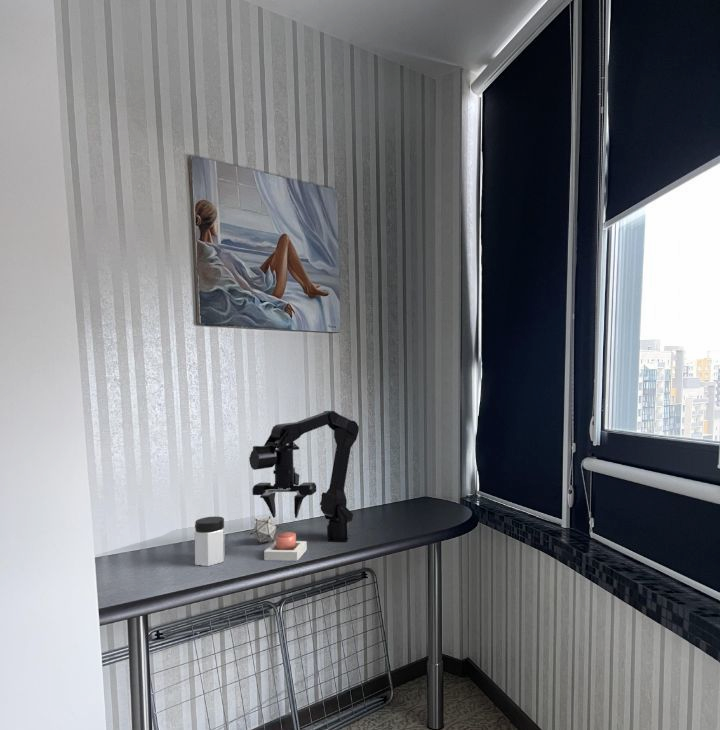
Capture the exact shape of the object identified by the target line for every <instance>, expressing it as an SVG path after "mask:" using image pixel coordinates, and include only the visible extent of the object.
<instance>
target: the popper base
mask: <svg viewBox="0 0 720 730" xmlns="http://www.w3.org/2000/svg"><path fill="white" fill-rule="evenodd" d="M307 544H308V542H307V541H306V540H304V541H303V540H302V541H301V540H296V548H294V549H292V550H277V549H276V540H274V542H273V543H272V544H271V545H270V546H269V547H267V548H266V549H265V550H264V552H263V555H264V561H276V562H277V561H279V562H280V561H283V562H284V561H285V562H297V561H299V560H300V558H301V557H302V556H303V555H304V554H305V552H306V551H307V549H308V545H307Z"/></svg>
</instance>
